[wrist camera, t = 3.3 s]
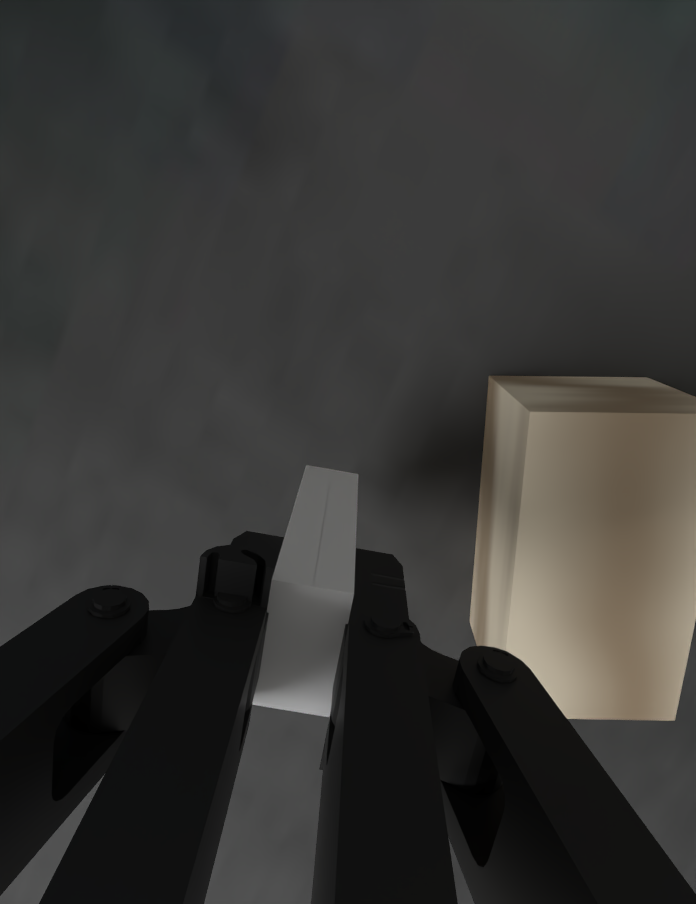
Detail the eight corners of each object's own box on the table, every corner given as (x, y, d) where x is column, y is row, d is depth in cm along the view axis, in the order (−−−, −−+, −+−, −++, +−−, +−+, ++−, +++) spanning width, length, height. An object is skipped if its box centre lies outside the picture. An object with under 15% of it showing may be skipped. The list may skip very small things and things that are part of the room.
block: (468, 619, 22) (499, 717, 17) (488, 374, 19) (529, 411, 15) (606, 621, 22) (674, 720, 17) (644, 376, 19) (738, 414, 15)
